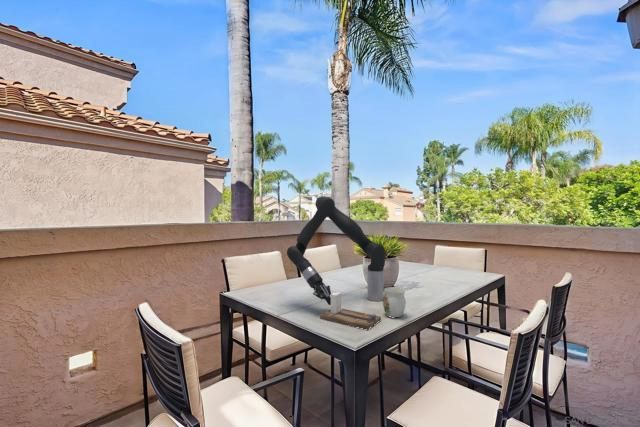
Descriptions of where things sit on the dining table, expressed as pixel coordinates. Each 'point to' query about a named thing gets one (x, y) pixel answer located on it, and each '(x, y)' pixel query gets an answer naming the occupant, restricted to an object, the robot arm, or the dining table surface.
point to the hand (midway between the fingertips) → (331, 304)
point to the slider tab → (335, 302)
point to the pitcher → (394, 301)
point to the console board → (351, 318)
